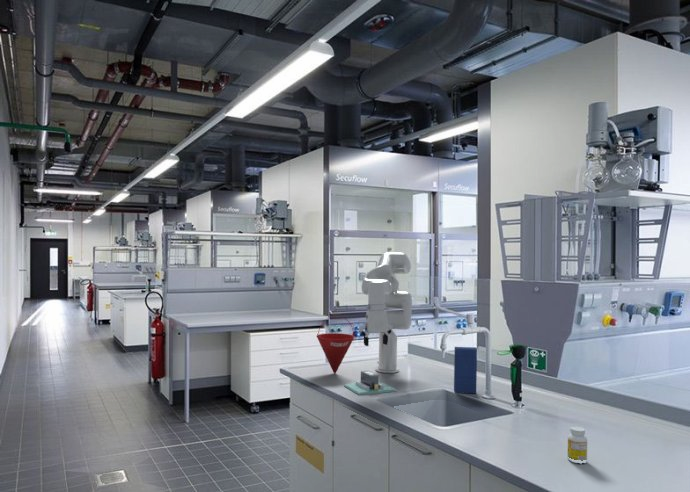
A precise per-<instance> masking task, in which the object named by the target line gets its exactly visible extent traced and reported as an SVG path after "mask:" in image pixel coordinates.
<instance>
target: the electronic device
mask: <svg viewBox="0 0 690 492" xmlns="http://www.w3.org/2000/svg"><path fill="white" fill-rule="evenodd" d="M453 360H454V361H453V362H454V364H453V365H454V366H453V369H454V370H453V392H454V393H455V394H471V395H472V394H473V395H474V394H475V395H476V394H477V378H478V377H477V375H478V374H477V373H478V372H477V371H478V369H477V367H478V361H477V360H478V348H476V347H474V346H473V347H470V346H468V347H467V346H454V359H453Z"/></svg>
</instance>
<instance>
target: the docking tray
mask: <svg viewBox="0 0 690 492" xmlns="http://www.w3.org/2000/svg"><path fill="white" fill-rule="evenodd" d="M343 387H344V388H347V390H350V391H352V392H354V393H355V394H357V395H359V396H363V395H373V394H382V393H392V392H393V393H394V392H396V388H394V387H392V386H390V385H388V384H386V383H384V382H382V381H378V384H374V389H372V390H370V389H369V386H367V385H365V384H364V383H362V382H361V380H360V381H359V380H356V381H355V382H351V383H344V384H343Z"/></svg>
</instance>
